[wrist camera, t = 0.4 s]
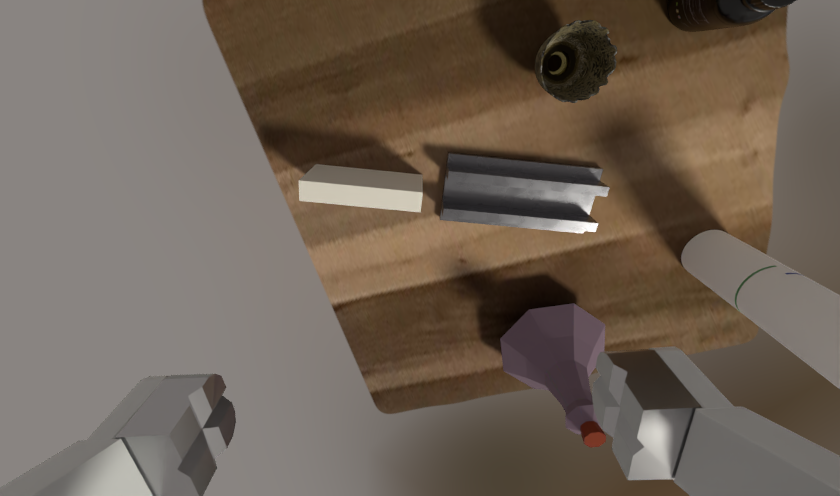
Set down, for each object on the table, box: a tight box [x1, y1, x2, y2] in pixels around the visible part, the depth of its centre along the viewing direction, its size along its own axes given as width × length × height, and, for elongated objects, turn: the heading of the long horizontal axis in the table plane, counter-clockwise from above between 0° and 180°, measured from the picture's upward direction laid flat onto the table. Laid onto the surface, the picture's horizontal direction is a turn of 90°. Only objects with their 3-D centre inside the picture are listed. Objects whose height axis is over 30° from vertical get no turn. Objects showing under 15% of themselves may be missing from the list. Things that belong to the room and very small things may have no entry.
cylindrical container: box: [681, 230, 840, 389], centre depth 45 cm, size 7×7×25 cm
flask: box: [500, 303, 606, 447], centre depth 53 cm, size 16×16×20 cm
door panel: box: [299, 164, 423, 212], centre depth 48 cm, size 14×2×8 cm, turn 84°
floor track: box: [440, 152, 610, 233], centre depth 51 cm, size 20×9×4 cm, turn 84°
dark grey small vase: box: [535, 20, 617, 103], centre depth 42 cm, size 8×7×8 cm
